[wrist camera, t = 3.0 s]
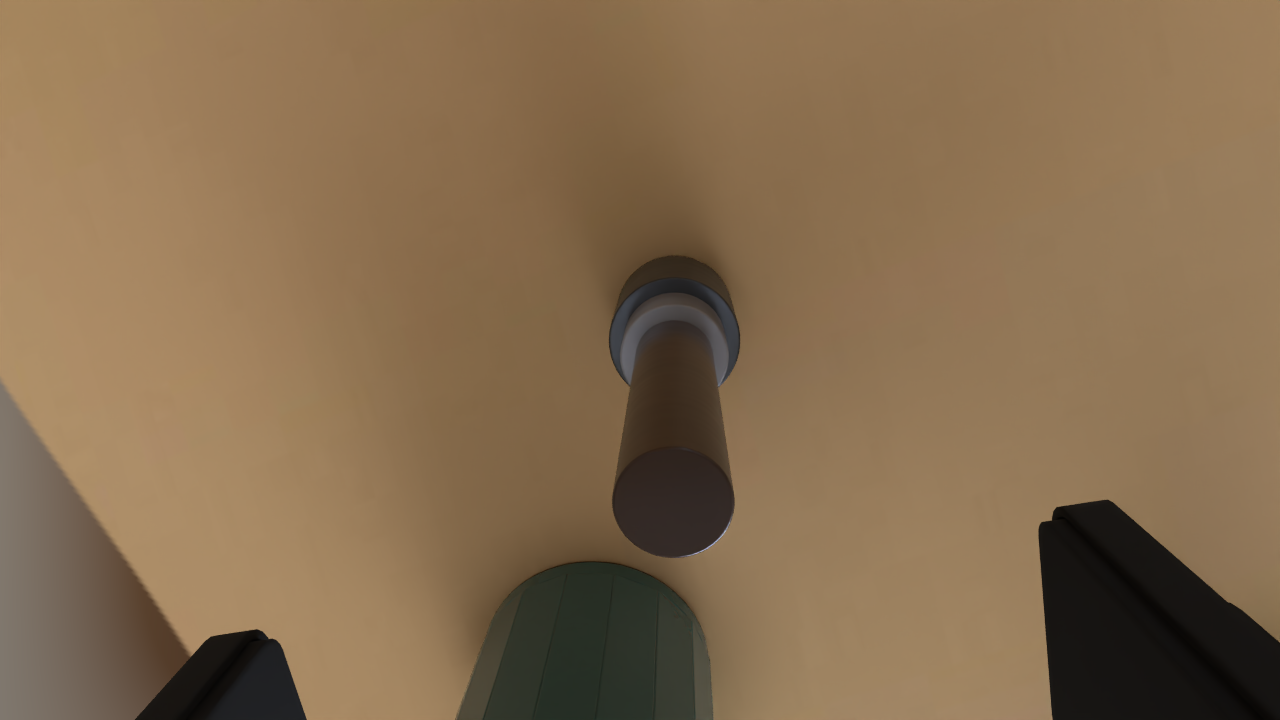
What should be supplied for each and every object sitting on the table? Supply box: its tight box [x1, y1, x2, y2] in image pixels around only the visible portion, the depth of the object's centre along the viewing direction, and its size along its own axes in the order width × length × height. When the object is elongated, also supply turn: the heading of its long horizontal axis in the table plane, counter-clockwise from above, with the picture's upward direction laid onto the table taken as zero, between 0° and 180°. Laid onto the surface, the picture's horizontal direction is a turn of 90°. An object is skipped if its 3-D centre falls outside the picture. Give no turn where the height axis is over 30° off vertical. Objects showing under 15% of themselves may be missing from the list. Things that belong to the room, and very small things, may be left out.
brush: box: [609, 256, 740, 558], centre depth 20 cm, size 4×4×14 cm
